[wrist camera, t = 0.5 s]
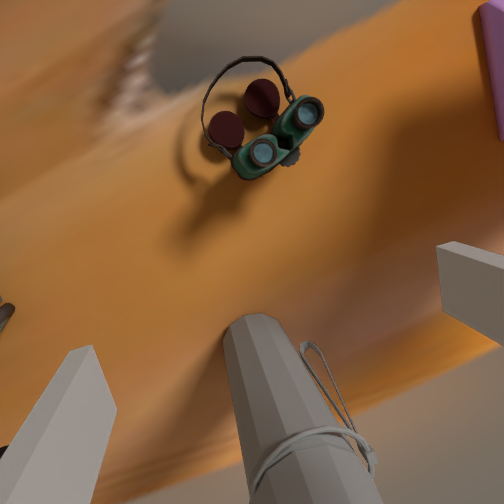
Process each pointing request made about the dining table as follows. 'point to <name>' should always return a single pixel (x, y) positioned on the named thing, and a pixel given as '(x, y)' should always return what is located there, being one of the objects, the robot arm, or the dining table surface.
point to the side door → (5, 313)
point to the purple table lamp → (495, 54)
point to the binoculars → (281, 133)
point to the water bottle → (291, 422)
